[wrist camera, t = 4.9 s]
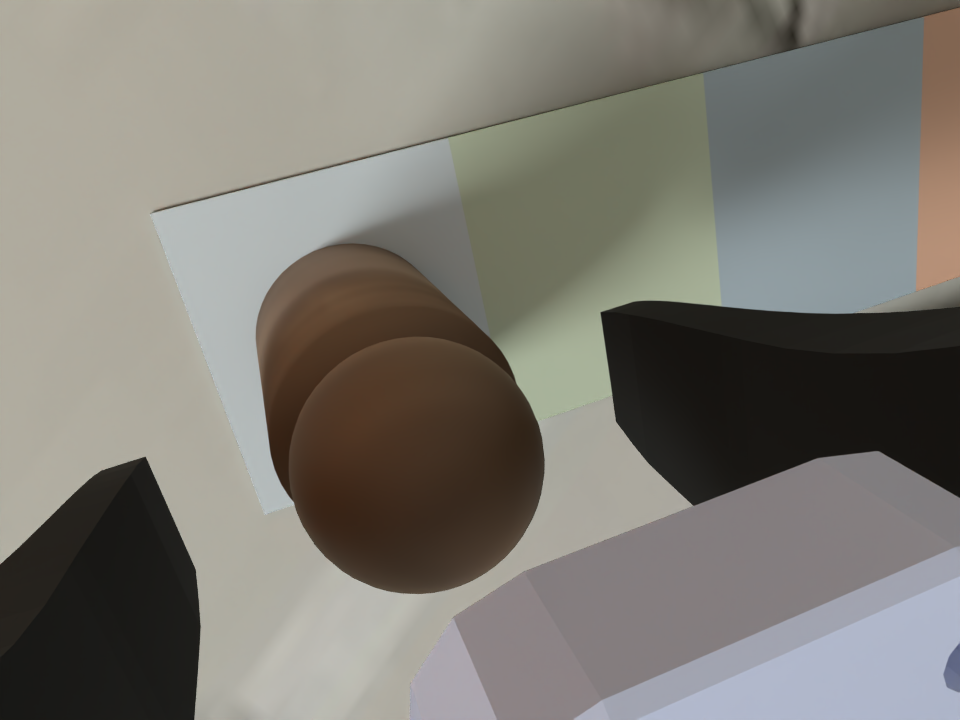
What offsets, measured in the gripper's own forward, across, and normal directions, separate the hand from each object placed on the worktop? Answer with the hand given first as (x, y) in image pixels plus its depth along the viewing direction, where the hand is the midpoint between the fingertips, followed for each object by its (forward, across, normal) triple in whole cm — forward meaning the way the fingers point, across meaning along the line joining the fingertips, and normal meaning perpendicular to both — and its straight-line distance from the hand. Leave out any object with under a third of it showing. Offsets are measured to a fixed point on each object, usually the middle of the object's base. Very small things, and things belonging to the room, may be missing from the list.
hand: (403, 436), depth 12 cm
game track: (+5, -9, 0) cm, 10 cm away
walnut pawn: (+5, 0, 0) cm, 5 cm away
